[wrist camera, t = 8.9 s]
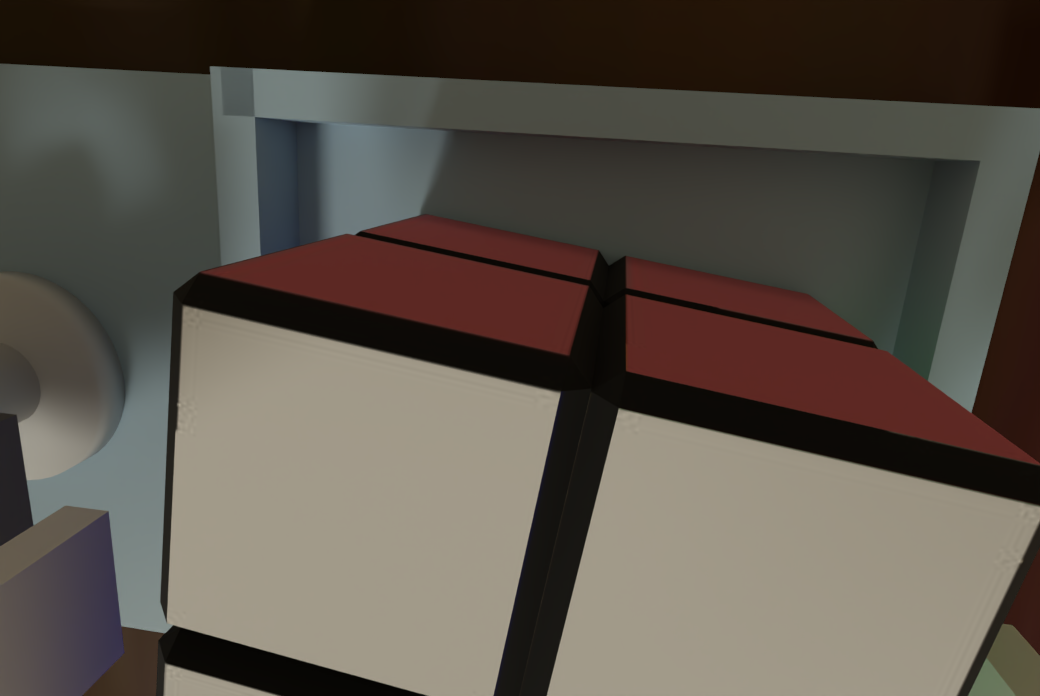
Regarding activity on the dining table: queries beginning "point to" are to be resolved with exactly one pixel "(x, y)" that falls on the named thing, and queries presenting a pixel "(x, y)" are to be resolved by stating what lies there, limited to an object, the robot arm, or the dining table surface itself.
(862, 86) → the dining table surface
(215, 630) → the puzzle cube
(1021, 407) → the dining table surface
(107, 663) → the robot arm
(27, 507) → the wheel
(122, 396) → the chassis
